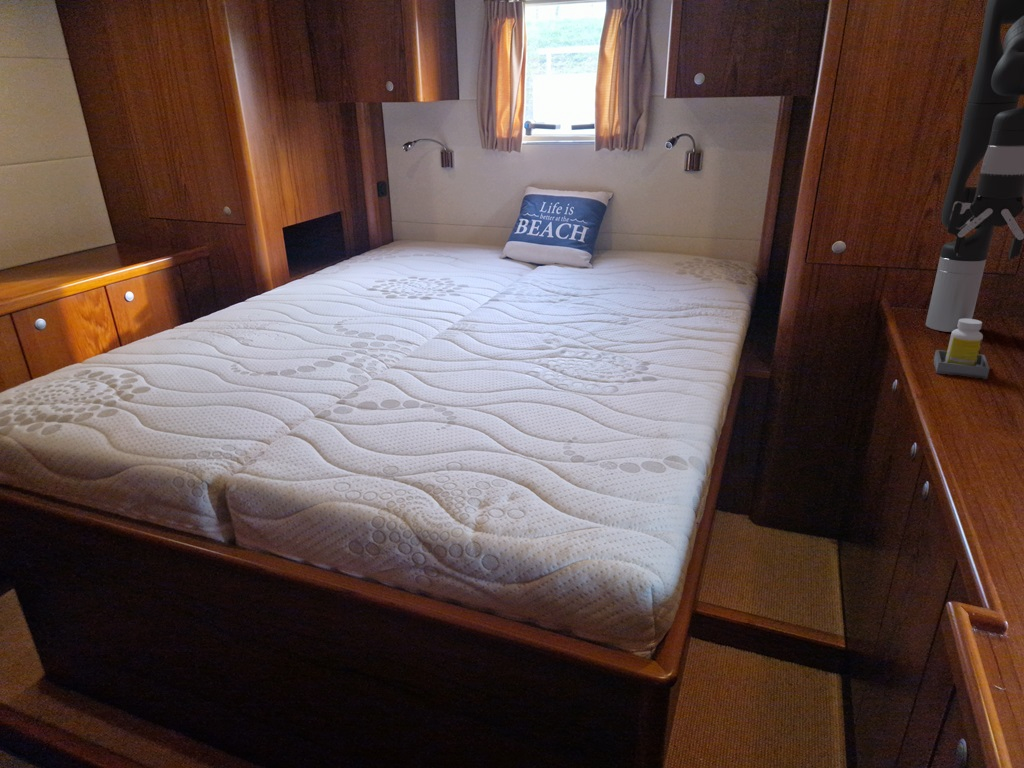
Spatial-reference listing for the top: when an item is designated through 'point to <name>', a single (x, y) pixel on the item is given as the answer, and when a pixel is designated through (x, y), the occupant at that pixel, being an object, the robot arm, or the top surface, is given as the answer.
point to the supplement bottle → (965, 343)
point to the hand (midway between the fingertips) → (984, 257)
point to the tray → (961, 366)
